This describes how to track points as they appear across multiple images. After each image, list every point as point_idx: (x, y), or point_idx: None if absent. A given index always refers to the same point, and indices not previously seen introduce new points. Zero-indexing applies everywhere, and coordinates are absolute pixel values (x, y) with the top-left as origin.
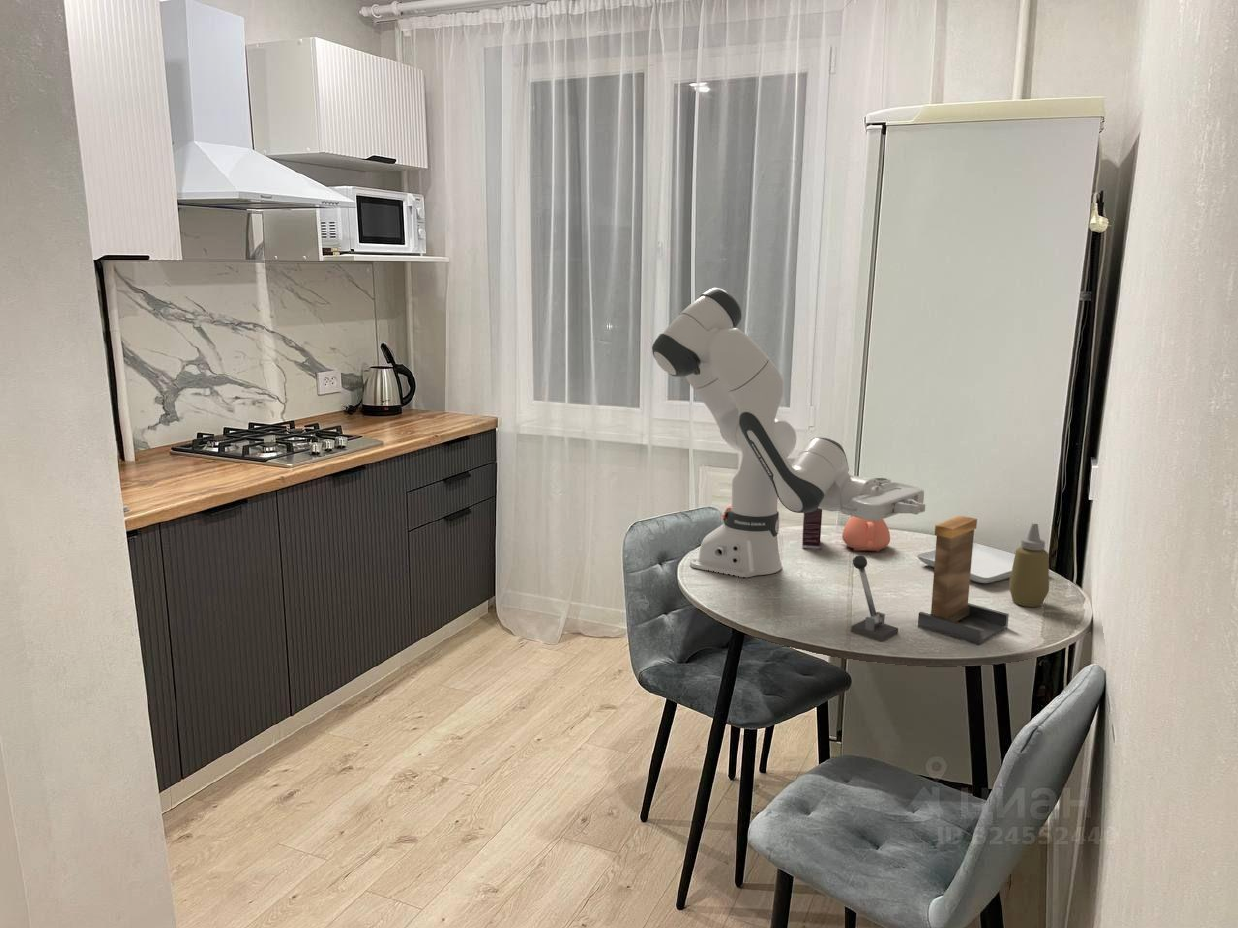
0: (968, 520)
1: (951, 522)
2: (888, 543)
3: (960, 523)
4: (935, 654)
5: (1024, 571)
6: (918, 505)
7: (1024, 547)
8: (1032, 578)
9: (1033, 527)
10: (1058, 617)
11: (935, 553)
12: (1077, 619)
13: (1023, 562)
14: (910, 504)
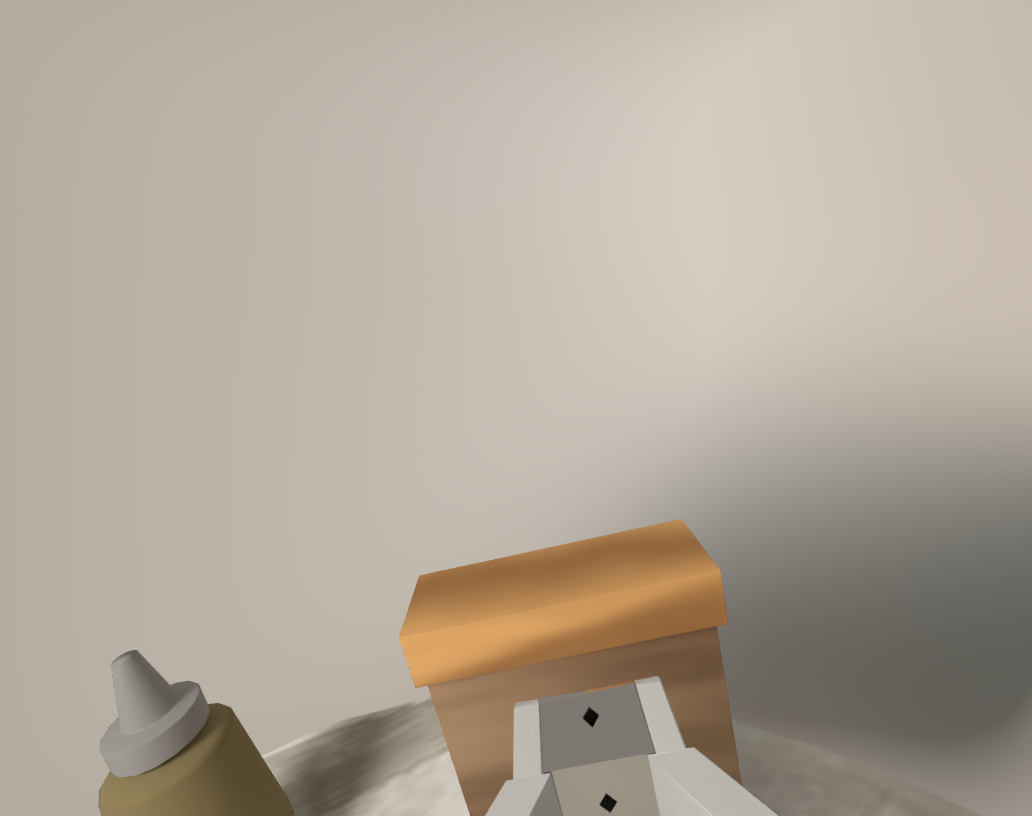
0: (477, 572)
1: (582, 576)
2: None
3: (560, 556)
4: (913, 795)
5: (254, 786)
6: (621, 690)
7: (186, 740)
8: (270, 776)
9: (141, 664)
10: (345, 767)
11: (729, 713)
12: (338, 735)
13: (234, 770)
14: (675, 757)
